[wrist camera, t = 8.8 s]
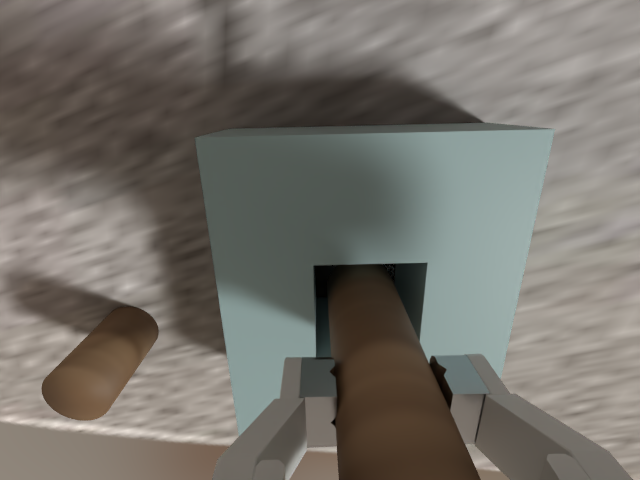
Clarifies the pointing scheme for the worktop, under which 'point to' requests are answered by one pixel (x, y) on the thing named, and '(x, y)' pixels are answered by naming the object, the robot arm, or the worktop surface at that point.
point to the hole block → (367, 234)
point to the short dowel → (100, 365)
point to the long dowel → (387, 387)
